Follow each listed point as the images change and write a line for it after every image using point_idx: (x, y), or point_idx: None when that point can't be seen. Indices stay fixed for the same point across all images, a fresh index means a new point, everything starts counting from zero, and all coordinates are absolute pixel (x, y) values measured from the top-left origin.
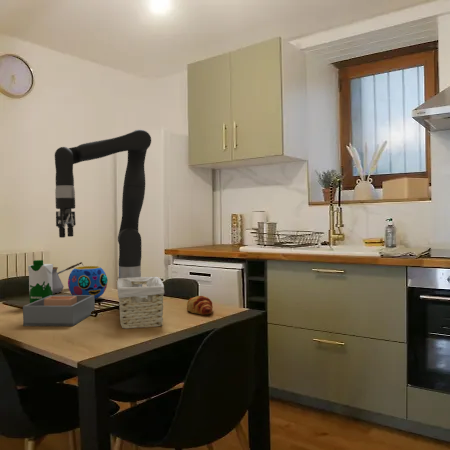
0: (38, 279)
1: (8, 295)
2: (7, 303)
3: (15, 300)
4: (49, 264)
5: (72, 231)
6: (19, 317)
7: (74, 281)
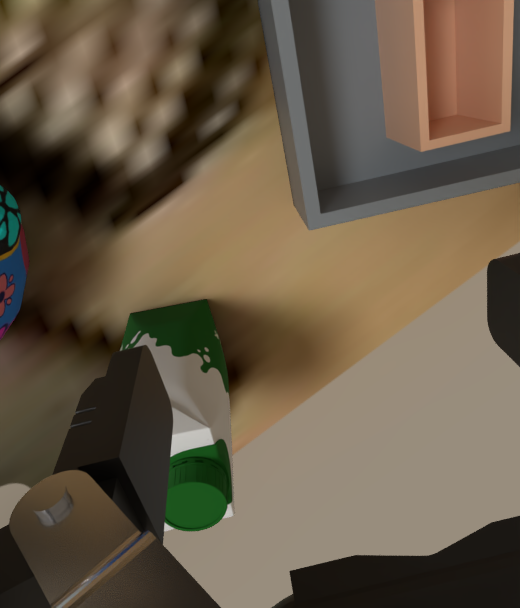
0: (224, 399)
1: None
2: None
3: None
4: None
5: (135, 395)
6: (399, 272)
7: (11, 284)
